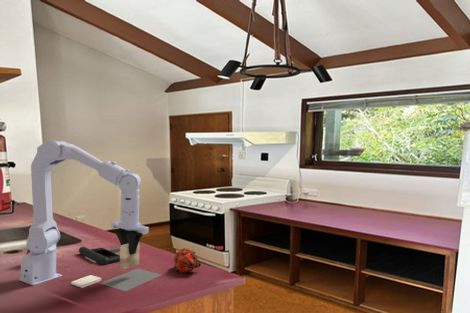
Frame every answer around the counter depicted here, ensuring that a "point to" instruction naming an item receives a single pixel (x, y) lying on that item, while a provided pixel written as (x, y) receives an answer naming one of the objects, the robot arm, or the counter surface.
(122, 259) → the light wooden block
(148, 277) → the mat
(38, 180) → the robot arm
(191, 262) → the dragon fruit
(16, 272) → the counter surface
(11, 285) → the counter surface
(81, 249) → the door handle
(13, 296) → the counter surface
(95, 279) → the tile
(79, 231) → the counter surface
